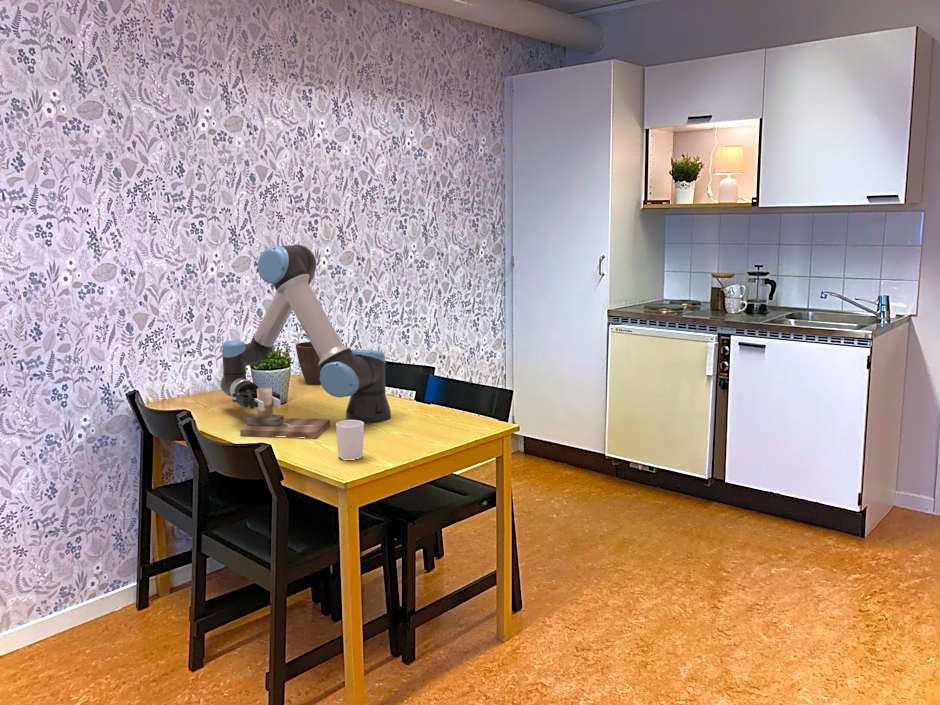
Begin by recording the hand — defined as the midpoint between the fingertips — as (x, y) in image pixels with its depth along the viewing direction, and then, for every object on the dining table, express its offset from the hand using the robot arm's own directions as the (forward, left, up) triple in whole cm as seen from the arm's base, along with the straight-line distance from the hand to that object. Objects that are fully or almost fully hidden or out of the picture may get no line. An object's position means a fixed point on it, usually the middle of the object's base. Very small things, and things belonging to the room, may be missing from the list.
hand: (271, 405), depth 250 cm
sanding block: (+4, -4, -7) cm, 9 cm away
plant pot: (+8, -75, -9) cm, 76 cm away
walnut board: (-3, -4, -9) cm, 10 cm away
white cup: (-30, +21, -9) cm, 38 cm away
